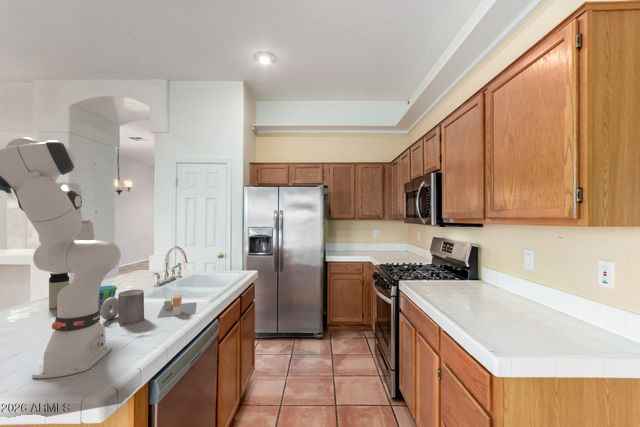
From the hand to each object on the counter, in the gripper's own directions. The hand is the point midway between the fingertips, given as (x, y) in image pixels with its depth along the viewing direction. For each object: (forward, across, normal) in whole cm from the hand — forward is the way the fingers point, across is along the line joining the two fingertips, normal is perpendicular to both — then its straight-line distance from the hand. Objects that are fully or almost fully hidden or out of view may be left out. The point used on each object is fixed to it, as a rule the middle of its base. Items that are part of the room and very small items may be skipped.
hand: (68, 252), depth 133 cm
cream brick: (+30, -23, +36) cm, 53 cm away
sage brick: (+30, -29, +26) cm, 49 cm away
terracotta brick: (+26, -23, +36) cm, 50 cm away
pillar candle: (+31, -9, +24) cm, 41 cm away
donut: (+31, -10, +11) cm, 35 cm away
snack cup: (+31, -23, -8) cm, 39 cm away
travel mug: (+31, -17, -31) cm, 47 cm away
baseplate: (+31, -28, +33) cm, 53 cm away
